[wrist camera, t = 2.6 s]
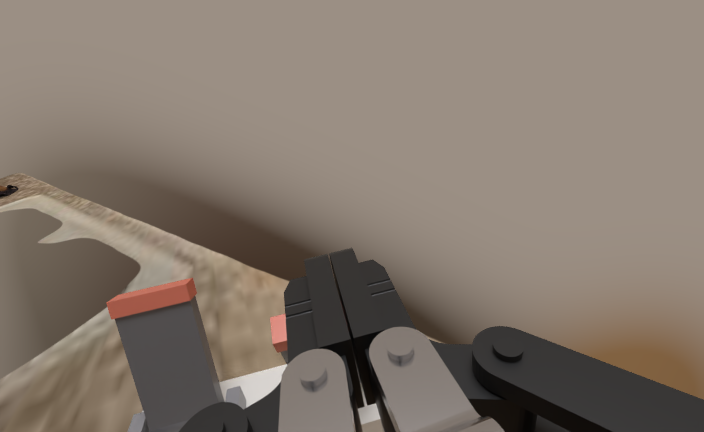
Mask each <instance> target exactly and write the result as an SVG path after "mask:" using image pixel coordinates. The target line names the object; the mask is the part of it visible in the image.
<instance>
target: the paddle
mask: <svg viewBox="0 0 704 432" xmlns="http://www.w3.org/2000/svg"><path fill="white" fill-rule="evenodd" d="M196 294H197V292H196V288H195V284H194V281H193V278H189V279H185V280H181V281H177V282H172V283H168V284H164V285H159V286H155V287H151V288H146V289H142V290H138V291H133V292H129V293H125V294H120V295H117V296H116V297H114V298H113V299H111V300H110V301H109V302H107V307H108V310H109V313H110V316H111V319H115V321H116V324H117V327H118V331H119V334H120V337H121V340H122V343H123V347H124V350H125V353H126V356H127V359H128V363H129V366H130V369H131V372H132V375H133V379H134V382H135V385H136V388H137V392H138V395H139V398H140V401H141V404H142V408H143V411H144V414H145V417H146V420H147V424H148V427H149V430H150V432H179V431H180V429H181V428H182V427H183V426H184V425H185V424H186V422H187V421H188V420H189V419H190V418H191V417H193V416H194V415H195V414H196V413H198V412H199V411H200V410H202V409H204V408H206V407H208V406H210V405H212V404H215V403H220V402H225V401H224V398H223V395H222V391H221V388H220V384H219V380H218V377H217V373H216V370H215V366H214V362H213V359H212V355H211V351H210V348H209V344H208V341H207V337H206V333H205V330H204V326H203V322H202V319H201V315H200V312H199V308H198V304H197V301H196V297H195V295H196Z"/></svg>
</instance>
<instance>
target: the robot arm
mask: <svg viewBox="0 0 704 432" xmlns="http://www.w3.org/2000/svg"><path fill="white" fill-rule="evenodd" d="M329 255H330V260H331V265H332V269H333V273H332V269H331V266H330V262H329V258H328V255H327V254H325V255H321V256H317V257H313V258H309V259H305V260H304V262H305V268H306V274H307V276H305V277H301V278H297V279H293V280H290V282H289V284H288V286H287V288H286V290H285V292H284V300H285V316H286V334H287V351H288V365H287V367H286V368H285V370H284V372H283V374H282V378H281V382H280V383H279V384H278V386H277V387H276V388H275V389H274V390H273V391H272V392H270V393H269V394H268V395H266V396H265V397H263V398H262V399H260V400H259V401H257V402H255V403H254V404H252V405H250V406H249V407H247V408H245V409H244V410H243V409H242V408H241V407H240V406H239V405H237V404H235V403H232V402H220V403H215V404H212V405H210V406H208V407H206V408H204V409H202V410H200V411H199V412H198V413H196V414H195V415H194V416H193V417H191V418H190V419H189V420H188V421H187V422H186V424H185V425H184V426H183V427H182V428H181V429H180V431H179V432H363V431H362V425H361V421H360V417H359V412H358V409H359V408H362V407H365V406H364V401H363V396H362V391H361V386H360V381H359V377H360V380H361V384H362V388H363V392H364V395H365V399H366V403H367V406H368V405H372V404H375V403H376V405H377V409H378V412H379V416H380V419H381V424H382V430H383V432H704V400H703V399H700V398H697V397H695V396H692V395H689V394H687V393H684V392H681V391H679V390H676V389H673V388H671V387H668V386H666V385H663V384H660V383H657V382H655V381H653V380H650V379H647V378H645V377H642V376H639V375H637V374H634V373H631V372H629V371H626V370H623V369H621V368H618V367H616V366H613V365H610V364H607V363H605V362H602V361H600V360H597V359H595V358H592V357H589V356H587V355H584V354H581V353H579V352H576V351H573V350H571V349H568V348H566V347H563V346H560V345H557V344H555V343H552V342H550V341H547V340H544V339H542V338H539V337H536V336H534V335H531V334H529V333H526V332H523V331H521V330H518V329H515V328H510V327H503V326H497V327H490V328H487V329H485V330H483V331H481V332H480V333H479V334H477V336H476V337H475V338H474V341H473V344H472V345H471V344H469V345H467V344H466V345H465V344H462V345H461V344H459V345H458V344H455V345H454V344H442V343H438V342H434V341H432V340H430V339H428V338H427V337H426V336H425V335H424V334H423V333H421V332H420V331H418V330H416V328H415V327H414V325H413V323H412V321H411V319H410V317H409V315H408V313H407V311H406V309H405V307H404V305H403V303H402V302H401V299H400V297H399V295H398V294H397V292H396V290H395V288H394V286H393V284H392V282H391V281H390V278H389V276H388V274H387V272H386V270H385V268H384V267H383V266H381V265H380V264H378V263H377V262H375V261H374V260H369V261H365V262H361V263H358V261H357V259H356V256H355V253H354V251H353V249H352V248H350V249H346V250H341V251H337V252H333V253H330V254H329ZM333 274H334V276H333ZM334 279H335V280H334ZM356 366H357V367H356ZM357 369H358V372H357ZM358 373H359V377H358Z"/></svg>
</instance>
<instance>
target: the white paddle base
mask: <svg viewBox="0 0 704 432" xmlns="http://www.w3.org/2000/svg"><path fill="white" fill-rule="evenodd" d="M286 367H287V364H286V365H282V366H278V367H274V368H271V369H267V370H263V371H260V372H256V373H252V374H248V375H245V376H241V377H237V378H233V379H230V380H226V381H222V382H219V384H220V388H221V391H222V395H223V398H224V401H225V402H232V403H235V404H237V405H239V406H240V407H241V408H242V409H243V410H244V409H245V408H247V407H249V406H250V405H252V404H254V403H255V402H257V401H259V400H260V399H262V398H263V397H265V396H266V395H268V394H269V393H270V392H272V391H273V390H274V389H275V388H276V387H277V386H278V384H279V383H280V382H281V378H282V374H283V372H284V370H285V368H286ZM360 386H361V391H362V396H363V401H364V406H365V407H362V408H359V409H358V412H359V417H360V421H361V425H362V431H363V432H383V430H382V424H381V419H380V416H379V412H378V409H377V405H376V403H375V404H372V405H368V406H367V403H366V399H365V395H364V392H363V388H362V384H361V382H360ZM128 432H150V430H149V427H148V424H147V420H146V417H145V414H144V411H142V413H138V414H134V416H133V418H132V421H131V424H130V427H129V429H128Z"/></svg>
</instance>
